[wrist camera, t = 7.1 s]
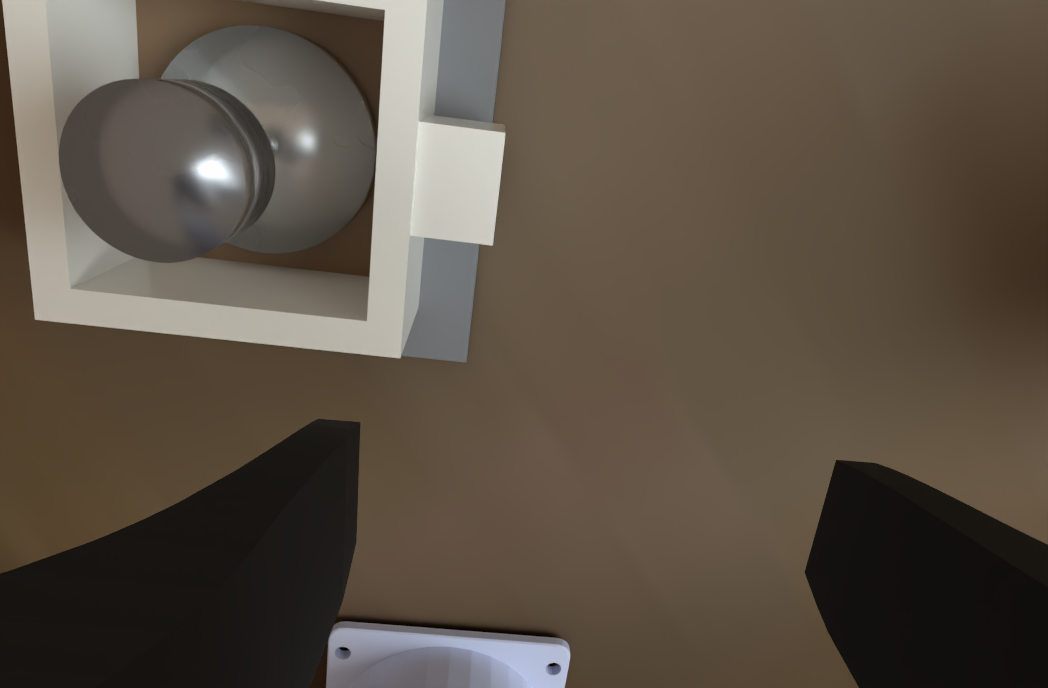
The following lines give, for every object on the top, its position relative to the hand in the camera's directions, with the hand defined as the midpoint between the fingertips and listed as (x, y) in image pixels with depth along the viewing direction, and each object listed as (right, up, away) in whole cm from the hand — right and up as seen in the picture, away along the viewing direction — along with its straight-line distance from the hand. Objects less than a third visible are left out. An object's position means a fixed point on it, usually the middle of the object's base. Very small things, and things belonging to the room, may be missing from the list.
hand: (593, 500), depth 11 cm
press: (-7, +8, +8) cm, 13 cm away
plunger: (-7, +7, +7) cm, 13 cm away
